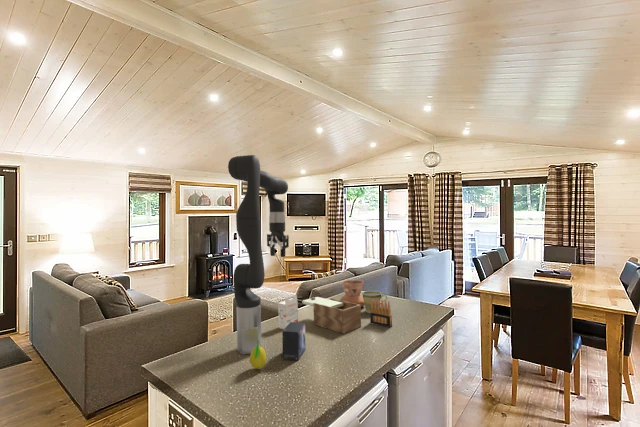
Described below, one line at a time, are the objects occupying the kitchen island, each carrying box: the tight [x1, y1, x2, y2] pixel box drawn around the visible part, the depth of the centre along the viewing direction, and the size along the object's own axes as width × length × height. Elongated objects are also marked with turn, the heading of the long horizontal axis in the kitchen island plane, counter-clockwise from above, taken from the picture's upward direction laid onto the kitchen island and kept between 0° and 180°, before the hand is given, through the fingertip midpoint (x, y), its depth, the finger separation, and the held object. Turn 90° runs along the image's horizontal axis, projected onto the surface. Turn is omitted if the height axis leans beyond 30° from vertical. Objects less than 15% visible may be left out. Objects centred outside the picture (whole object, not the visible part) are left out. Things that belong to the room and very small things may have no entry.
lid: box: [301, 296, 343, 308], centre depth 163 cm, size 18×10×2 cm, turn 45°
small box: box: [281, 322, 306, 362], centre depth 125 cm, size 11×6×10 cm, turn 168°
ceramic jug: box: [339, 279, 365, 308], centre depth 189 cm, size 18×14×14 cm
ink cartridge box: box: [277, 294, 299, 330], centre depth 156 cm, size 9×5×15 cm, turn 143°
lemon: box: [249, 340, 267, 370], centre depth 113 cm, size 7×6×10 cm
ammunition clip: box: [369, 298, 393, 328], centre depth 156 cm, size 11×2×12 cm, turn 50°
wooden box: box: [313, 298, 362, 334], centre depth 157 cm, size 19×12×10 cm, turn 45°
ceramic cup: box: [361, 290, 388, 314], centre depth 177 cm, size 13×10×10 cm
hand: (277, 256), depth 158 cm, fingers open, 7 cm apart
